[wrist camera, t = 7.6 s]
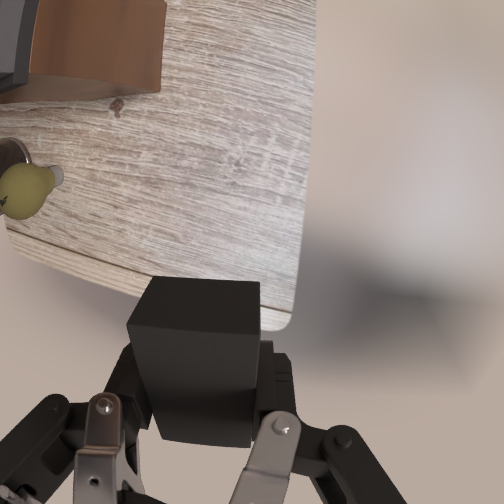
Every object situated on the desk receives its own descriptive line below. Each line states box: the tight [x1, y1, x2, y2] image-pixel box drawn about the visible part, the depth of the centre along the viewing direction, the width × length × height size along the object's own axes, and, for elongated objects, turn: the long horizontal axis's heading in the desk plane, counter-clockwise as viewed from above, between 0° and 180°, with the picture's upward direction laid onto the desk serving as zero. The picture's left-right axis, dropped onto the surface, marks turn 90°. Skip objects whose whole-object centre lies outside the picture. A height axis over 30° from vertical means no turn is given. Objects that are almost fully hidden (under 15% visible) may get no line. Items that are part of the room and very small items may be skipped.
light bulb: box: [0, 163, 64, 220], centre depth 24 cm, size 6×6×10 cm
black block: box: [127, 276, 261, 448], centre depth 11 cm, size 7×4×3 cm, turn 177°
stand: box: [0, 0, 167, 104], centre depth 15 cm, size 8×10×19 cm
